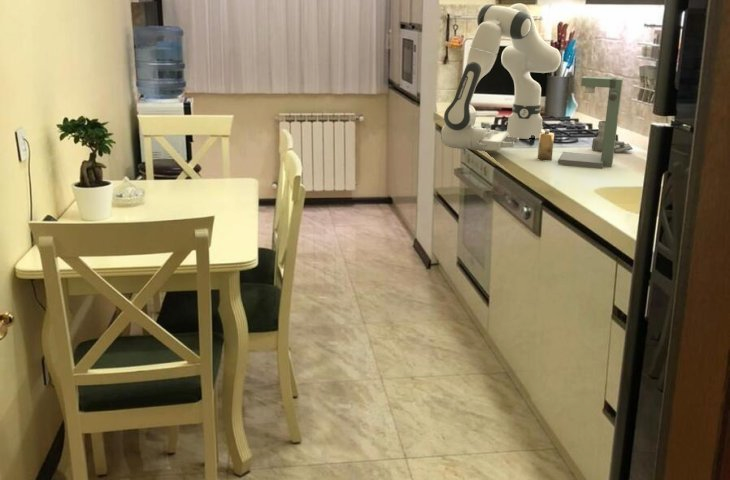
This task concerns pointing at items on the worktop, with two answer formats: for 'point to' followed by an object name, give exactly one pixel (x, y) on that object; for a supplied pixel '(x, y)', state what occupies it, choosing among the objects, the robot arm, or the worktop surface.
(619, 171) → the worktop surface
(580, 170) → the worktop surface
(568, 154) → the press
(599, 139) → the camera
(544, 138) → the tan upright block
